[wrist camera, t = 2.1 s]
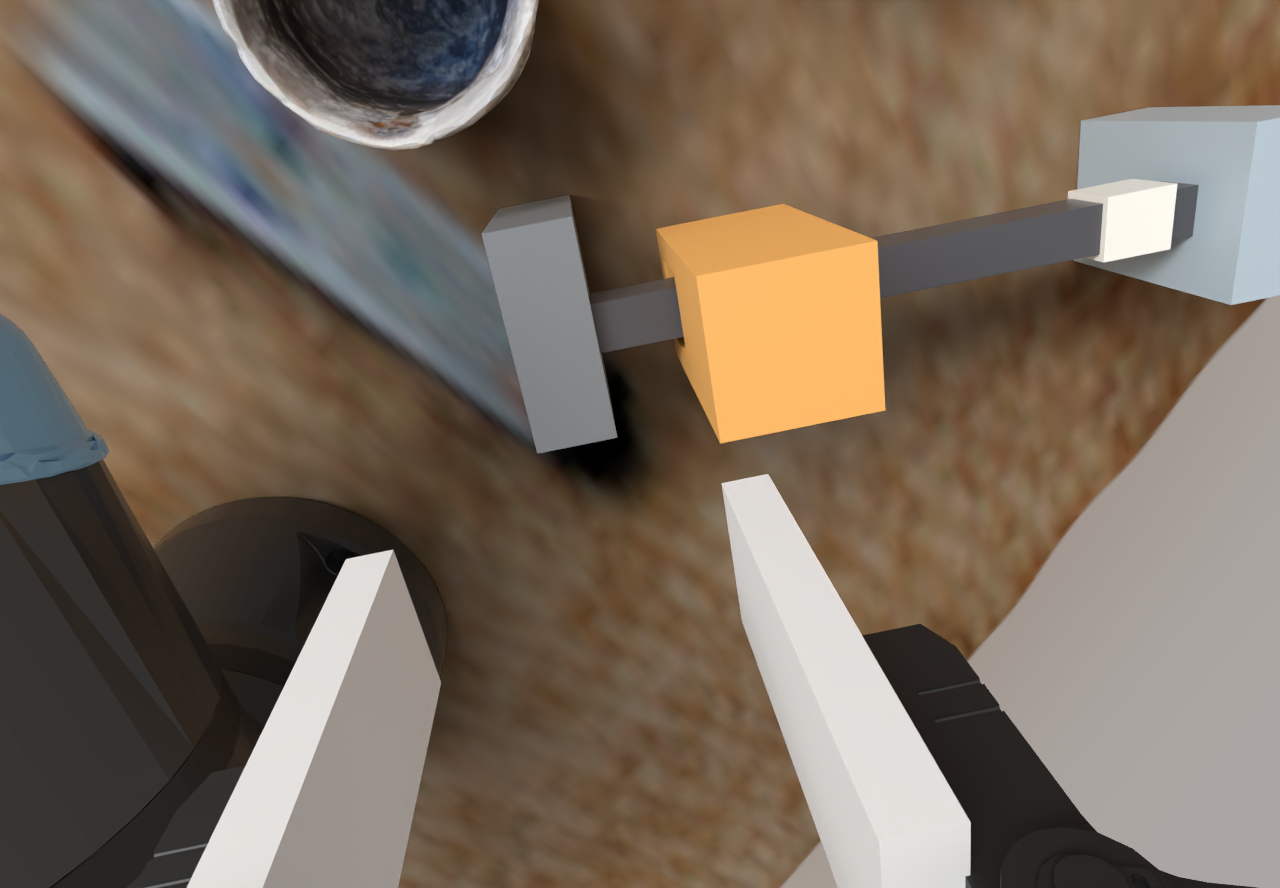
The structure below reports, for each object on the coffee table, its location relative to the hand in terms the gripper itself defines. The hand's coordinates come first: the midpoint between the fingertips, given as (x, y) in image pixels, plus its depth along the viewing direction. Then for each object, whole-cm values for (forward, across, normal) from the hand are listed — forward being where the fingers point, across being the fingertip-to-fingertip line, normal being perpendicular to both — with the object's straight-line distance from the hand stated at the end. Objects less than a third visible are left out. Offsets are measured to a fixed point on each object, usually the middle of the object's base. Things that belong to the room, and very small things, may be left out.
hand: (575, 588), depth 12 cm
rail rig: (+23, +12, 0) cm, 26 cm away
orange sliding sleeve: (+19, +6, 0) cm, 20 cm away
